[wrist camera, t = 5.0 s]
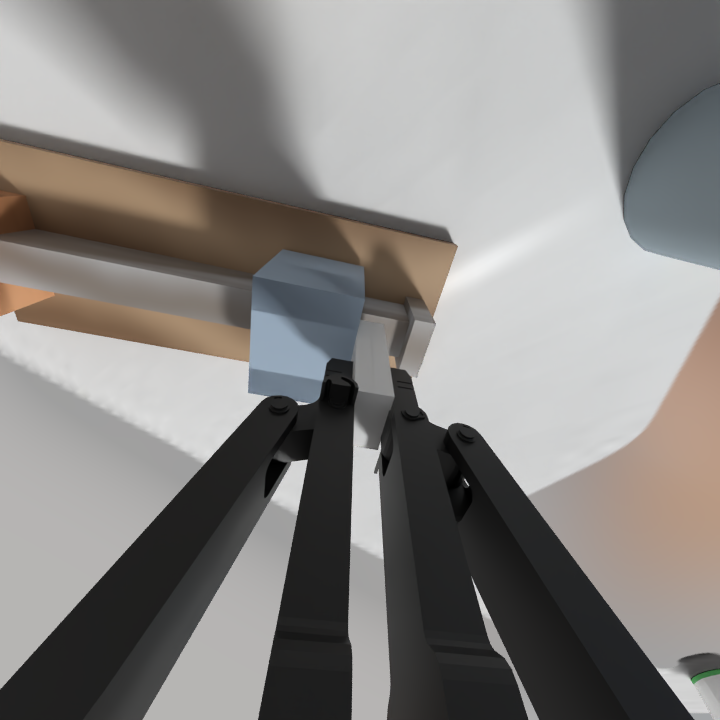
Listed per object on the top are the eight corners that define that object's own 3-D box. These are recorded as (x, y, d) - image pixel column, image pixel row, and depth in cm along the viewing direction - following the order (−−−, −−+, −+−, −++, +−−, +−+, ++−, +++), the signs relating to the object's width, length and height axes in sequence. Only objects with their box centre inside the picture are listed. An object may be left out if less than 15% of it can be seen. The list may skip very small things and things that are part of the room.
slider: (283, 249, 19) (252, 275, 14) (364, 266, 19) (364, 298, 14) (275, 342, 22) (248, 392, 17) (345, 355, 22) (340, 408, 17)
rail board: (-32, 131, 17) (-249, 104, 11) (453, 243, 20) (494, 271, 14) (31, 315, 22) (-91, 365, 16) (405, 383, 25) (419, 447, 19)
